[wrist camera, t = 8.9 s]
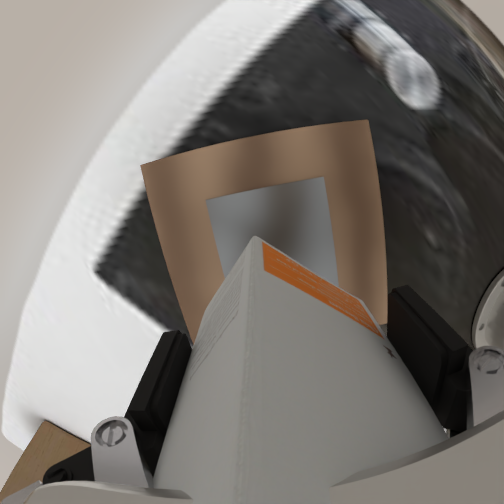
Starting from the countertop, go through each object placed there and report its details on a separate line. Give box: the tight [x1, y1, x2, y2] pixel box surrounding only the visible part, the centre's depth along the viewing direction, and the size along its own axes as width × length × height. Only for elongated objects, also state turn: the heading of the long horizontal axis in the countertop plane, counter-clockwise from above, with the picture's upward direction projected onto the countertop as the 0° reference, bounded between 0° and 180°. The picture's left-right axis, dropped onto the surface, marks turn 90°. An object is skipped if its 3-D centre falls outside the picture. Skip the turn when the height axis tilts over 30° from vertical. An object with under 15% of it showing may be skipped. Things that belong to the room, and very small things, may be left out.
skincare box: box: [153, 236, 449, 504], centre depth 7 cm, size 6×4×12 cm
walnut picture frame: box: [140, 120, 387, 344], centre depth 22 cm, size 16×16×3 cm
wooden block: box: [0, 421, 91, 503], centre depth 25 cm, size 10×10×20 cm
